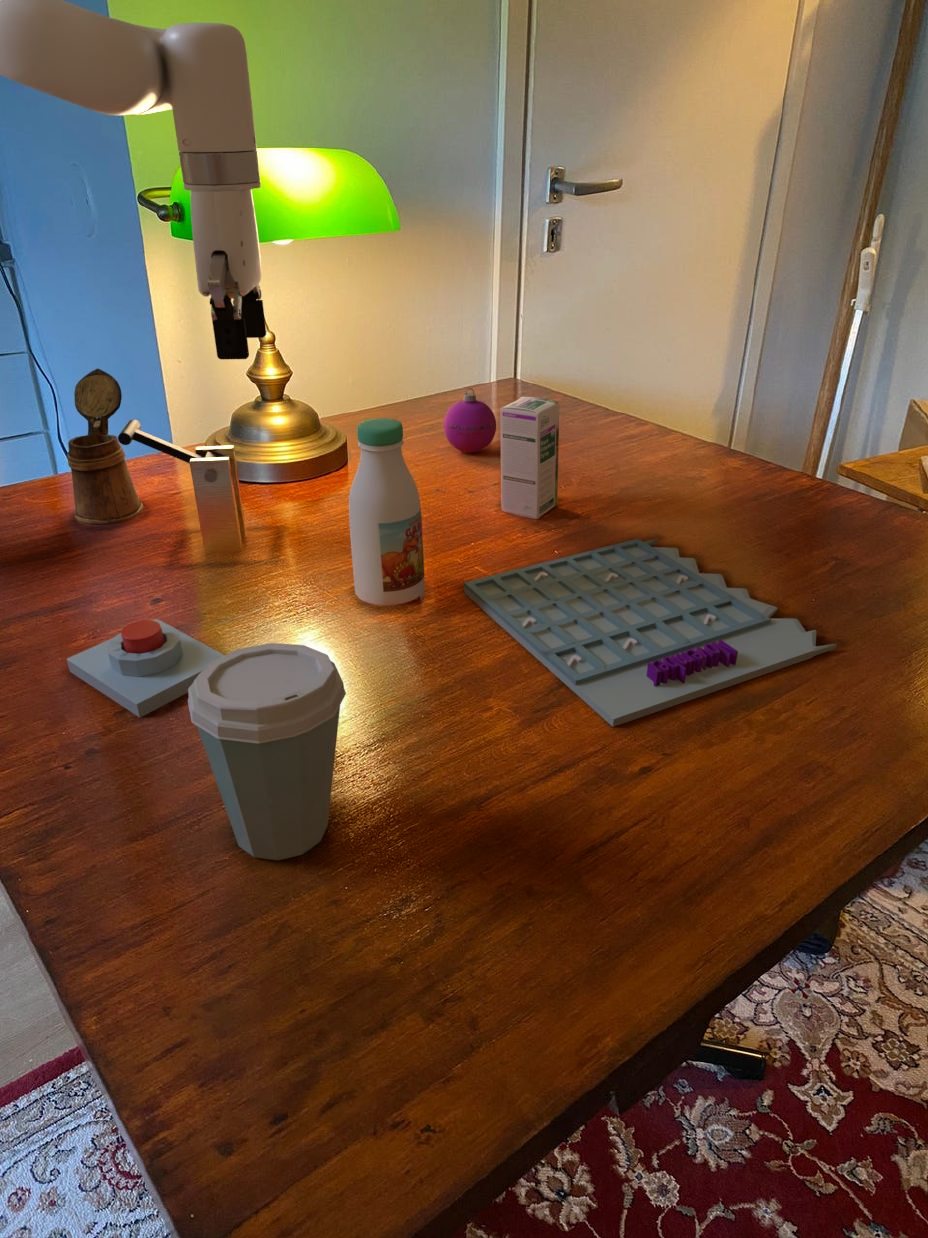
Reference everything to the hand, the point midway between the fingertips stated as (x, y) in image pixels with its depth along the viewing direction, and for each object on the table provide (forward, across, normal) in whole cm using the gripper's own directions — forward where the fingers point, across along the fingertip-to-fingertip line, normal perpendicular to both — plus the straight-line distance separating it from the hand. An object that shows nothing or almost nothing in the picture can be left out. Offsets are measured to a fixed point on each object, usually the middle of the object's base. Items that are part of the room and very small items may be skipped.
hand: (243, 347), depth 98 cm
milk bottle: (+25, +11, +16) cm, 32 cm away
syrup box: (+25, -14, +33) cm, 43 cm away
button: (+21, +27, -7) cm, 35 cm away
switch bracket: (+25, -1, -5) cm, 26 cm away
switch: (+13, -1, -10) cm, 17 cm away
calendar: (+25, +17, +42) cm, 52 cm away
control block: (+25, +27, -7) cm, 37 cm away
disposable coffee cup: (+25, +49, +10) cm, 56 cm away
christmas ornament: (+25, -37, +25) cm, 51 cm away
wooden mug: (+25, -14, -24) cm, 37 cm away
